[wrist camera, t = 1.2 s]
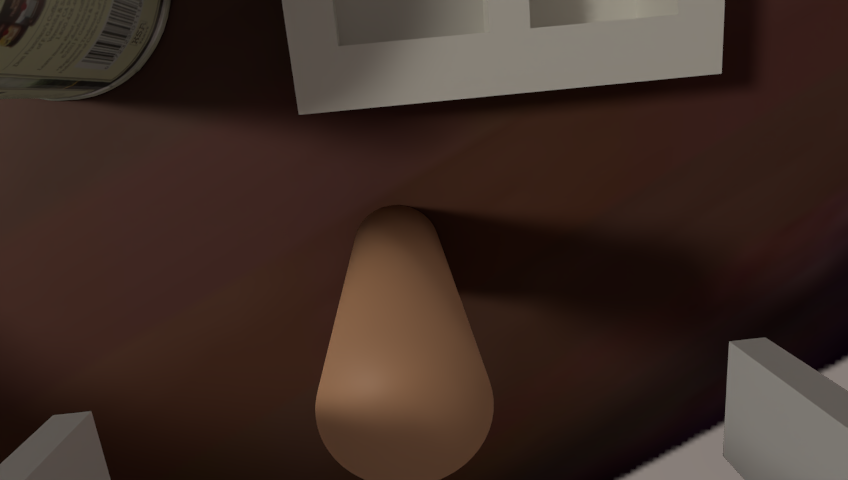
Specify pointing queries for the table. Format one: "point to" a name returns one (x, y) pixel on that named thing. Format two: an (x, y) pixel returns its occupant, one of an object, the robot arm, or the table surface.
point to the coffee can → (75, 45)
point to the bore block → (490, 47)
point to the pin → (402, 359)
